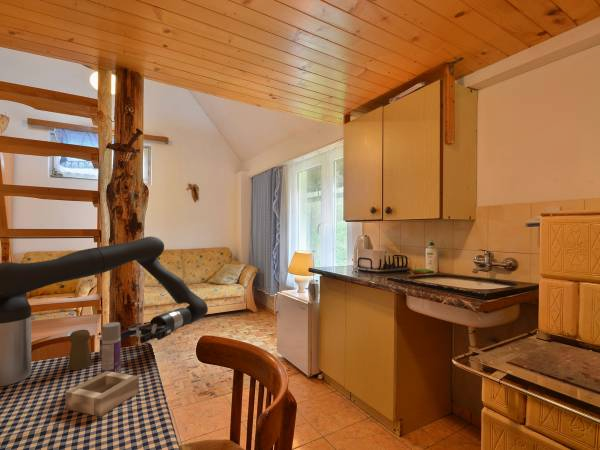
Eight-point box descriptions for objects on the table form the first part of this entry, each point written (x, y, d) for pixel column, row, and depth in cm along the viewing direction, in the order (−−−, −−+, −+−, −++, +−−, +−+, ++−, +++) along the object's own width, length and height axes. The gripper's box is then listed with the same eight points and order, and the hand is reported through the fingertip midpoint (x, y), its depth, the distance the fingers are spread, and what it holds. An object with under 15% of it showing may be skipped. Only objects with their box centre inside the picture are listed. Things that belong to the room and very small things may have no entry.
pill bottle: (97, 355, 103) (97, 330, 103) (113, 350, 107) (113, 326, 107) (101, 359, 100) (101, 333, 100) (117, 354, 103) (117, 330, 104)
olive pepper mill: (78, 371, 91) (78, 334, 92) (62, 369, 93) (62, 333, 93) (96, 362, 97) (96, 328, 97) (80, 361, 99) (80, 327, 99)
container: (116, 370, 92) (116, 321, 92) (123, 375, 89) (123, 323, 89) (98, 376, 88) (99, 325, 88) (105, 381, 86) (106, 328, 86)
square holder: (65, 408, 73) (65, 391, 73) (106, 385, 83) (106, 370, 83) (100, 416, 70) (100, 399, 70) (138, 391, 80) (138, 376, 80)
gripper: (151, 311, 113) (112, 324, 97) (183, 314, 109) (148, 328, 93) (150, 331, 113) (112, 348, 97) (183, 335, 109) (148, 353, 93)
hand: (130, 338), depth 95 cm, fingers open, 8 cm apart
